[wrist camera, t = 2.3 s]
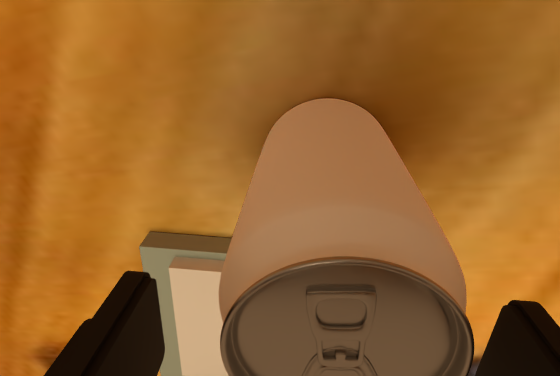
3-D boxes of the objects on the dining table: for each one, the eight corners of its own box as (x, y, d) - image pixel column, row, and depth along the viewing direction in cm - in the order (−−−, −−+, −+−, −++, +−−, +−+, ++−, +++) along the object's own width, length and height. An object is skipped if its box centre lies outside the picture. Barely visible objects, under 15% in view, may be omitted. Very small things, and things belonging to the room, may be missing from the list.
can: (268, 212, 21) (221, 437, 10) (257, 99, 18) (174, 242, 7) (384, 210, 20) (469, 448, 9) (393, 92, 17) (531, 239, 6)
